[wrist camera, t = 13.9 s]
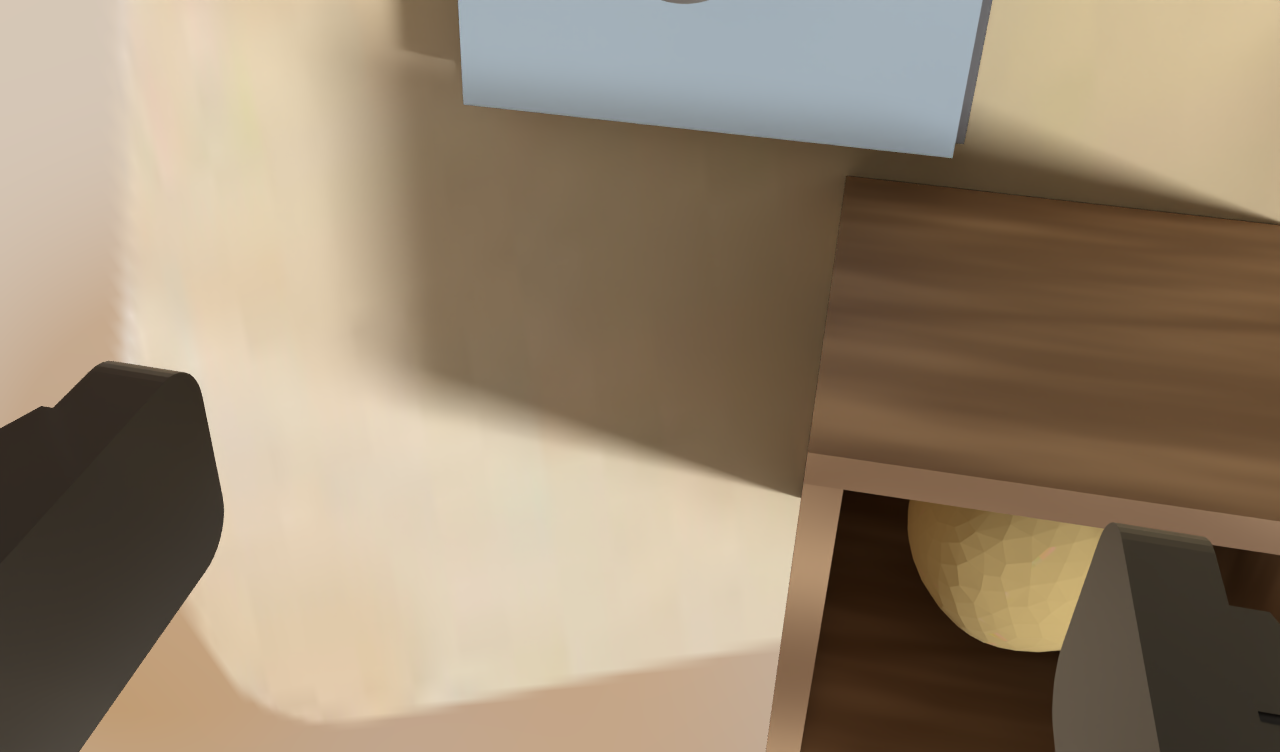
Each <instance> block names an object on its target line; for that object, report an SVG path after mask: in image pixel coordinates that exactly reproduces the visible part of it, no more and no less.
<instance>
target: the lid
mask: <svg viewBox="0 0 1280 752" xmlns="http://www.w3.org/2000/svg"><path fill="white" fill-rule="evenodd" d="M982 1H983V0H458V11H459V30H460V49H461V68H462V87H463V104H464V105H473V106H482V107H491V108H500V109H509V110H518V111H527V112H536V113H546V114H555V115H564V116H573V117H582V118H591V119H600V120H609V121H618V122H628V123H637V124H646V125H655V126H664V127H673V128H682V129H691V130H700V131H710V132H719V133H728V134H737V135H746V136H755V137H764V138H773V139H783V140H792V141H801V142H810V143H819V144H828V145H837V146H846V147H855V148H865V149H874V150H883V151H892V152H901V153H910V154H919V155H928V156H937V157H947V158H953V152H954V147H955V142H956V137H957V132H958V126H959V121H960V116H961V111H962V105H963V100H964V95H965V90H966V85H967V79H968V74H969V69H970V64H971V58H972V53H973V48H974V43H975V38H976V32H977V27H978V22H979V17H980V12H981V6H982Z"/></svg>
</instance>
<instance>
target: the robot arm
mask: <svg viewBox="0 0 1280 752" xmlns="http://www.w3.org/2000/svg"><path fill="white" fill-rule="evenodd" d="M223 518H224V504H223V497H222V492H221V487H220V482H219V477H218V472H217V467H216V462H215V457H214V452H213V447H212V442H211V437H210V432H209V427H208V422H207V417H206V412H205V407H204V402H203V397H202V393H201V390H200V387H199V385H198V383H197V381H196V380H195V379H194V377H192V376H191V375H190V374H187V373H184V372H178V371H172V370H166V369H159V368H153V367H147V366H140V365H134V364H128V363H121V362H114V361H106V362H102V363H101V364H99V365H97V366H95V367H94V368H93V369H92V370H91V371H90V372H89V373H88V374H87V375H86V376H85V377H84V378H83V379H82V380H81V381H80V382H79V383H78V384H77V385H76V386H75V387H74V388H73V389H72V390H71V391H70V392H69V393H68V394H67V395H66V396H64V398H63V399H62V400H61V401H59V402H58V404H56V405H55V407H53V408H50V407H43V406H41V407H39V408H37V409H35V410H33V411H32V412H30V413H28V414H26V415H24V416H22V417H20V418H19V419H17V420H15V421H13V422H11V423H9V424H8V425H6V426H4V427H2V428H0V752H79V751H80V750H81V748H82V747H83V745H84V744H85V742H86V741H87V740H88V738H89V737H90V735H91V734H92V732H93V731H94V730H95V728H96V727H97V725H98V724H99V722H100V721H101V720H102V718H103V717H104V715H105V714H106V713H107V711H108V710H109V708H110V707H111V705H112V704H113V703H114V701H115V700H116V698H117V697H118V695H119V694H120V693H121V691H122V690H123V688H124V687H125V685H126V684H127V682H128V681H129V680H130V678H131V677H132V675H133V674H134V673H135V671H136V670H137V668H138V667H139V665H140V664H141V663H142V661H143V660H144V658H145V657H146V655H147V654H148V653H149V651H150V650H151V648H152V647H153V645H154V644H155V643H156V641H157V640H158V638H159V637H160V635H161V634H162V633H163V631H164V630H165V628H166V627H167V625H168V624H169V623H170V621H171V620H172V618H173V617H174V615H175V614H176V613H177V611H178V610H179V608H180V607H181V606H182V604H183V603H184V601H185V600H186V598H187V597H188V596H189V594H190V593H191V591H192V590H193V588H194V587H195V586H196V584H197V583H198V581H199V580H200V578H201V577H202V576H203V574H204V573H205V571H206V570H207V568H208V567H209V565H210V563H211V561H212V559H213V557H214V555H215V552H216V550H217V547H218V544H219V541H220V537H221V532H222V527H223ZM1052 720H1053V733H1054V743H1055V752H1280V624H1279V622H1278V621H1277V620H1276V619H1275V618H1274V616H1273V615H1272V614H1271V613H1270V612H1266V611H1260V610H1254V609H1248V608H1242V607H1236V606H1230V605H1229V603H1228V599H1227V595H1226V592H1225V588H1224V584H1223V580H1222V577H1221V573H1220V569H1219V566H1218V562H1217V558H1216V554H1215V551H1214V548H1213V546H1212V544H1211V542H1210V541H1209V540H1208V539H1207V538H1206V537H1203V536H1196V535H1190V534H1184V533H1178V532H1171V531H1165V530H1159V529H1152V528H1146V527H1140V526H1133V525H1127V524H1121V523H1114V522H1112V523H1109V524H1108V525H1107V526H1106V527H1105V529H1104V530H1103V532H1102V534H1101V536H1100V539H1099V541H1098V544H1097V547H1096V549H1095V552H1094V555H1093V558H1092V561H1091V564H1090V567H1089V570H1088V572H1087V575H1086V578H1085V581H1084V584H1083V587H1082V590H1081V593H1080V595H1079V598H1078V601H1077V604H1076V607H1075V610H1074V613H1073V615H1072V618H1071V621H1070V624H1069V627H1068V630H1067V633H1066V636H1065V638H1064V641H1063V644H1062V647H1061V651H1060V654H1059V658H1058V663H1057V668H1056V674H1055V680H1054V689H1053V705H1052Z"/></svg>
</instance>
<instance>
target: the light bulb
mask: <svg viewBox="0 0 1280 752" xmlns="http://www.w3.org/2000/svg"><path fill="white" fill-rule="evenodd" d="M1103 530H1104V529H1103V528H1096V527H1089V526H1083V525H1076V524H1069V523H1063V522H1056V521H1049V520H1043V519H1036V518H1030V517H1023V516H1016V515H1010V514H1003V513H996V512H990V511H983V510H976V509H970V508H963V507H956V506H950V505H943V504H936V503H930V502H923V501H916V500H909V507H908V537H909V543H910V547H911V552H912V556H913V560H914V562H915V565H916V567H917V570H918V572H919V575H920V577H921V580H922V582H923V583H924V585H925V586H926V588H927V589H928V591H929V593H930V594H931V596H932V597H933V599H934V600H935V602H936V603H937V605H938V606H939V608H940V609H941V610H942V611H943V612H944V613H945V614H946V615H947V616H948V617H949V618H950V619H951V620H952V621H953V622H954V623H955V624H956V625H957V626H958V627H959V628H961V629H962V630H963V631H965V632H966V633H967V634H969V635H970V636H972V637H974V638H976V639H978V640H980V641H981V642H984V643H987V644H990V645H993V646H996V647H1000V648H1005V649H1010V650H1015V651H1029V652H1046V651H1058V650H1061V647H1062V644H1063V641H1064V638H1065V636H1066V633H1067V630H1068V627H1069V624H1070V621H1071V618H1072V615H1073V613H1074V610H1075V607H1076V604H1077V601H1078V598H1079V595H1080V593H1081V590H1082V587H1083V584H1084V581H1085V578H1086V575H1087V572H1088V570H1089V567H1090V564H1091V561H1092V558H1093V555H1094V552H1095V549H1096V547H1097V544H1098V541H1099V539H1100V536H1101V534H1102V532H1103Z"/></svg>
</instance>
